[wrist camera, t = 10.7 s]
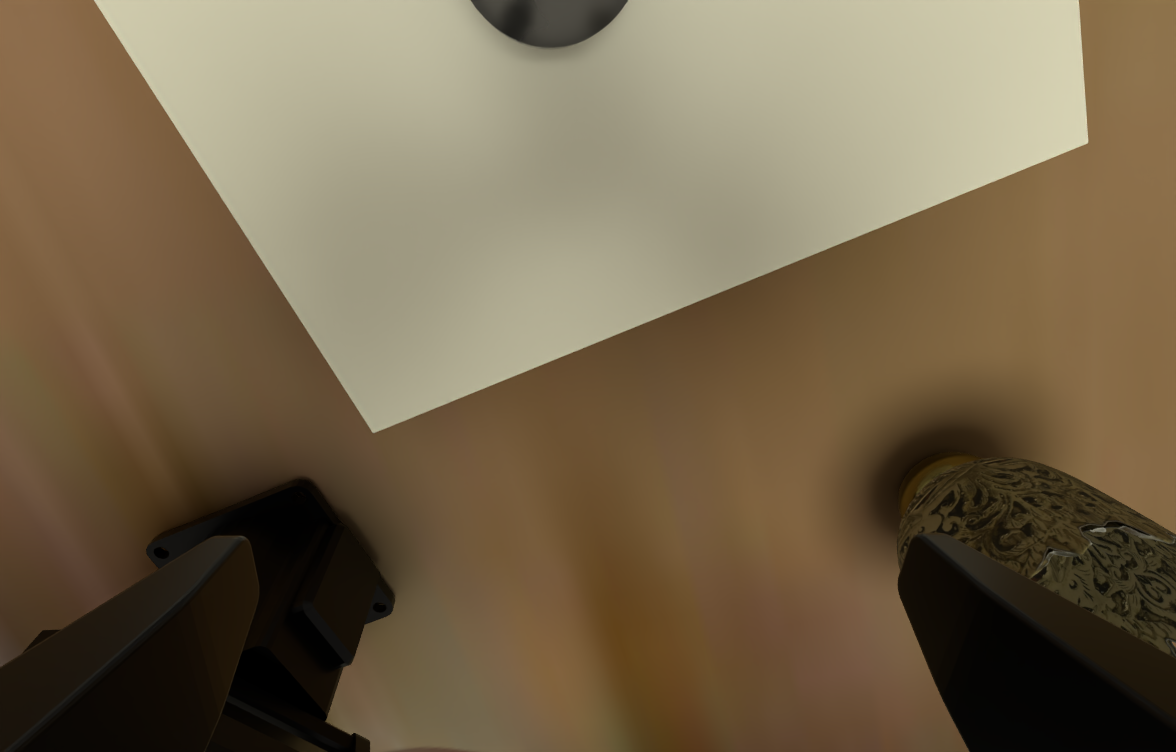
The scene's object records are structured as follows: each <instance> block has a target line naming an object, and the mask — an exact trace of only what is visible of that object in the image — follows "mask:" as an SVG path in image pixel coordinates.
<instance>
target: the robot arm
mask: <svg viewBox="0 0 1176 752" xmlns="http://www.w3.org/2000/svg"><path fill="white" fill-rule="evenodd" d="M295 492H300V493H303V494H304V495H305V496H306V497H303V498H302V497H299V496H297V495H296V493H295ZM161 547H162V548H165V549H166V550H168V551H165V550H163V549H162V548H161ZM146 552H147V555H148V557H149V558H150V559H151V560H152V561H153V562H154V564H155V565H156V566H157V567H158V568H159V569H158V570H157V571H155V572H154V573H152V574H150V575H149V576H147V577H145V578H144V579H142V580H141V581H139V582H137V583H136V584H134V585H132V586H131V587H129V588H128V589H126V590H124V591H123V592H121V593H120V594H118V595H116V596H115V597H113V598H111V599H110V600H108V601H107V602H105V603H103V604H102V605H100V606H99V607H97V608H95V609H94V610H92V611H90V612H89V613H87V614H86V615H84V616H82V617H81V618H79V619H78V620H76V621H74V622H73V623H71V624H69V625H68V626H66V627H65V628H63V629H61V630H43V631H42V632H41V633H40V634H39V635H38V636H37V637H36V638H35V640H34V641H33V642H32V643H31V644H30V645H29V646H28V648H27V649H26V650H25V651H24V652H23V653H22V654H21V655H19V656H18V657H16V658H14V659H13V660H11V661H10V662H8V663H6V664H5V665H3V666H2V667H0V752H370V741H369V740H368V739H366V738H364V737H362V736H360V735H358V734H356V733H354V734H352V735H350V734H348V733H346V732H344V731H342V730H340V729H339V728H337V727H335V726H333V725H331V724H329V723H327V722H325V721H326V719H327V716H328V713H329V710H330V707H331V704H332V701H333V698H334V694H335V691H336V688H337V685H338V682H339V679H340V676H341V673H342V670H343V667H345V666H348V665H351V663H352V662H353V659H354V656H355V654H356V650H357V647H358V644H359V641H360V638H361V634H362V631H363V628H364V625H365V624H368V623H370V622H373V621H376V620H378V619H381V618H384V617H386V616H388V615H390V614H391V612H392V611H393V608H394V604H395V598H394V595H393V594H392V593H391V591H390V590H389V589H388V587H387V586H386V584H385V583H384V582H383V580H382V579H381V577H380V572H379V571H378V569H377V568H376V566H375V565H374V564H373V562H372V561H371V559H370V558H369V557H368V555H367V554H366V553H365V551H364V550H363V548H362V547H361V546H360V544H359V543H358V541H357V540H356V539H355V537H354V536H353V534H352V533H351V532H350V530H349V529H348V527H347V526H345V525H343V524H342V523H341V522H340V521H339V519H338V518H337V516H336V515H335V514H334V512H333V511H332V509H331V508H330V507H329V505H328V504H327V503H326V501H325V500H324V498H323V497H322V496H321V494H320V493H319V491H318V490H317V489H316V487H315V486H314V485H313V484H312V483H311V482H309V481H306V480H300V479H299V480H294V481H292V482H289V483H287V484H284V485H282V486H279V487H277V488H275V489H272V490H270V491H267V492H265V493H262V494H260V495H257V496H255V497H252V498H250V499H247V500H245V501H242V502H240V503H237V504H235V505H232V506H230V507H227V508H225V509H222V510H220V511H217V512H215V513H213V514H210V515H208V516H205V517H203V518H200V519H198V520H195V521H193V522H190V523H188V524H185V525H183V526H180V527H178V528H175V529H173V530H170V531H168V532H165V533H163V534H160V535H158V536H157V537H155V538H154V539H153V540H152V541H151V543H150V544H149V545H148V547H147V549H146ZM898 591H899V595H900V598H901V601H902V603H903V606H904V608H905V611H906V613H907V616H908V618H909V620H910V623H911V625H912V628H913V630H914V633H915V635H916V638H917V640H918V643H919V645H920V647H921V650H922V652H923V655H924V657H925V660H926V662H927V665H928V667H929V669H930V672H931V674H932V677H933V679H934V682H935V684H936V686H937V688H938V691H939V693H940V695H941V697H942V700H943V702H944V704H945V706H946V708H947V710H948V712H949V714H950V716H951V718H952V719H953V721H954V723H955V725H956V727H957V729H958V731H959V733H960V735H961V737H962V739H963V740H964V742H965V744H966V746H967V748H968V750H969V752H1176V658H1175V657H1173V656H1171V655H1169V654H1167V653H1165V652H1164V651H1162V650H1160V649H1158V648H1156V647H1154V646H1153V645H1151V644H1149V643H1147V642H1145V641H1143V640H1141V639H1140V638H1138V637H1136V636H1134V635H1132V634H1130V633H1129V632H1127V631H1125V630H1123V629H1121V628H1119V627H1117V626H1116V625H1114V624H1112V623H1110V622H1108V621H1106V620H1105V619H1103V618H1101V617H1099V616H1097V615H1095V614H1093V613H1092V612H1090V611H1088V610H1086V609H1084V608H1082V607H1081V606H1079V605H1077V604H1075V603H1073V602H1071V601H1069V600H1068V599H1066V598H1064V597H1062V596H1060V595H1058V594H1057V593H1055V592H1053V591H1051V590H1049V589H1047V588H1045V587H1044V586H1042V585H1040V584H1038V583H1036V582H1034V581H1033V580H1031V579H1029V578H1027V577H1025V576H1023V575H1021V574H1020V573H1018V572H1016V571H1014V570H1012V569H1010V568H1009V567H1007V566H1005V565H1003V564H1001V563H999V562H997V561H996V560H994V559H992V558H990V557H988V556H986V555H985V554H983V553H981V552H979V551H977V550H975V549H973V548H972V547H970V546H968V545H966V544H964V543H962V542H960V541H959V540H957V539H955V538H953V537H951V536H949V535H947V534H944V533H918V534H916V535H914V536H913V537H912V538H911V540H910V542H909V545H908V548H907V551H906V554H905V558H904V561H903V564H902V567H901V570H900V574H899V577H898ZM378 602H380V603H384V604H385V605H380V604H378Z"/></svg>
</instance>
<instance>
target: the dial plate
mask: <svg viewBox="0 0 1176 752" xmlns="http://www.w3.org/2000/svg"><path fill="white" fill-rule="evenodd" d="M94 1H95V3H96V4H97V6H98V7H99V9H100V10H101V12H102V13H103V15H104V16H105V18H106V20H107V21H108V23H109V24H110V26H111V27H112V29H113V30H114V32H115V34H116V35H117V37H118V38H119V40H120V41H121V43H122V44H123V46H124V48H125V49H126V51H127V52H128V54H129V55H130V57H131V58H132V60H133V61H134V63H135V65H136V66H137V68H138V69H139V71H140V72H141V74H142V75H143V77H144V79H145V80H146V82H147V83H148V85H149V86H150V88H151V89H152V91H153V93H154V94H155V96H156V97H157V99H158V100H159V102H160V103H161V105H162V106H163V108H164V110H165V111H166V113H167V114H168V116H169V117H170V119H171V120H172V122H173V124H174V125H175V127H176V128H177V130H178V131H179V133H180V134H181V136H182V137H183V139H184V141H185V142H186V144H187V145H188V147H189V148H190V150H191V151H192V153H193V155H194V156H195V158H196V159H197V161H198V162H199V164H200V165H201V167H202V169H203V170H204V172H205V173H206V175H207V176H208V178H209V179H210V181H211V182H212V184H213V186H214V187H215V189H216V190H217V192H218V193H219V195H220V196H221V198H222V200H223V201H224V203H225V204H226V206H227V207H228V209H229V210H230V212H231V214H232V215H233V217H234V218H235V220H236V221H237V223H238V224H239V226H240V227H241V229H242V231H243V232H244V234H245V235H246V237H247V238H248V240H249V241H250V243H251V245H252V246H253V248H254V249H255V251H256V252H257V254H258V255H259V257H260V258H261V260H262V262H263V263H264V265H265V266H266V268H267V269H268V271H269V272H270V274H271V276H272V277H273V279H274V280H275V282H276V283H277V285H278V286H279V288H280V290H281V291H282V293H283V294H284V296H285V297H286V299H287V300H288V302H289V303H290V305H291V307H292V308H293V310H294V311H295V313H296V314H297V316H298V317H299V319H300V321H301V322H302V324H303V325H304V327H305V328H306V330H307V331H308V333H309V335H310V336H311V338H312V339H313V341H314V342H315V344H316V345H317V347H318V348H319V350H320V352H321V353H322V355H323V356H324V358H325V359H326V361H327V362H328V364H329V366H330V367H331V369H332V370H333V372H334V373H335V375H336V376H337V378H338V379H339V381H340V383H341V384H342V386H343V387H344V389H345V390H346V392H347V393H348V395H349V397H350V398H351V400H352V401H353V403H354V404H355V406H356V407H357V409H358V411H359V412H360V414H361V415H362V417H363V418H364V420H365V421H366V423H367V424H368V426H369V428H370V429H371V431H372V432H373V433H375V432H378V431H380V430H383V429H385V428H388V427H390V426H393V425H395V424H398V423H400V422H402V421H405V420H407V419H410V418H412V417H415V416H417V415H420V414H422V413H425V412H427V411H430V410H432V409H434V408H437V407H439V406H442V405H444V404H447V403H449V402H452V401H454V400H457V399H459V398H462V397H464V396H466V395H469V394H471V393H474V392H476V391H479V390H481V389H484V388H486V387H489V386H491V385H494V384H496V383H498V382H501V381H503V380H506V379H508V378H511V377H513V376H516V375H518V374H521V373H523V372H526V371H528V370H531V369H533V368H535V367H538V366H540V365H543V364H545V363H548V362H550V361H553V360H555V359H558V358H560V357H563V356H565V355H567V354H570V353H572V352H575V351H577V350H580V349H582V348H585V347H587V346H590V345H592V344H595V343H597V342H599V341H602V340H604V339H607V338H609V337H612V336H614V335H617V334H619V333H622V332H624V331H627V330H629V329H631V328H634V327H636V326H639V325H641V324H644V323H646V322H649V321H651V320H654V319H656V318H659V317H661V316H663V315H666V314H668V313H671V312H673V311H676V310H678V309H681V308H683V307H686V306H688V305H691V304H693V303H696V302H698V301H700V300H703V299H705V298H708V297H710V296H713V295H715V294H718V293H720V292H723V291H725V290H728V289H730V288H732V287H735V286H737V285H740V284H742V283H745V282H747V281H750V280H752V279H755V278H757V277H760V276H762V275H764V274H767V273H769V272H772V271H774V270H777V269H779V268H782V267H784V266H787V265H789V264H792V263H794V262H796V261H799V260H801V259H804V258H806V257H809V256H811V255H814V254H816V253H819V252H821V251H824V250H826V249H828V248H831V247H833V246H836V245H838V244H841V243H843V242H846V241H848V240H851V239H853V238H856V237H858V236H861V235H863V234H865V233H868V232H870V231H873V230H875V229H878V228H880V227H883V226H885V225H888V224H890V223H893V222H895V221H897V220H900V219H902V218H905V217H907V216H910V215H912V214H915V213H917V212H920V211H922V210H925V209H927V208H929V207H932V206H934V205H937V204H939V203H942V202H944V201H947V200H949V199H952V198H954V197H957V196H959V195H961V194H964V193H966V192H969V191H971V190H974V189H976V188H979V187H981V186H984V185H986V184H989V183H991V182H994V181H996V180H998V179H1001V178H1003V177H1006V176H1008V175H1011V174H1013V173H1016V172H1018V171H1021V170H1023V169H1026V168H1028V167H1030V166H1033V165H1035V164H1038V163H1040V162H1043V161H1045V160H1048V159H1050V158H1053V157H1055V156H1058V155H1060V154H1062V153H1065V152H1067V151H1070V150H1072V149H1075V148H1077V147H1080V146H1082V145H1085V144H1087V143H1088V133H1087V118H1086V103H1085V88H1084V73H1083V58H1082V43H1081V28H1080V13H1079V0H628V1H627V3H626V4H625V6H624V7H623V9H622V10H621V11H620V13H619V14H618V15H617V16H616V17H615V18H614V19H613V20H612V21H611V23H609V24H608V25H607V26H606V27H605V28H603V29H602V30H601V31H599V32H598V33H596V34H595V35H593V36H592V37H590V38H588V39H587V40H585V41H583V42H581V43H579V44H576V45H574V46H570V47H566V48H561V49H538V48H533V47H529V46H526V45H523V44H520V43H518V42H516V41H514V40H511V39H509V38H508V37H506V36H505V35H503V34H502V33H500V32H499V31H498V30H497V29H496V28H494V27H493V26H492V25H491V24H490V23H489V22H488V21H487V20H486V19H485V18H484V17H483V16H482V14H481V13H480V12H479V11H478V10H477V9H476V8H475V6H474V5H473V3H472V2H471V0H94Z"/></svg>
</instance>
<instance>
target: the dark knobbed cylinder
mask: <svg viewBox="0 0 1176 752" xmlns="http://www.w3.org/2000/svg"><path fill="white" fill-rule="evenodd" d="M627 1H628V0H471V2H472V3H473V5H474V6H475V8H476V9H477V10H478V11H479V12H480V13H481V14H482V16H483V17H484V18H485V19H486V20H487V21H488V22H489V23H490V24H491V25H492V26H493V27H494V28H496V29H497V30H498V31H499V32H500V33H502V34H503V35H505V36H506V37H508V38H509V39H511V40H514V41H516V42H518V43H520V44H523V45H526V46H529V47H533V48H538V49H561V48H566V47H570V46H574V45H576V44H579V43H581V42H583V41H585V40H587V39H588V38H590V37H592V36H593V35H595V34H596V33H598V32H599V31H601V30H602V29H603V28H605V27H606V26H607V25H608V24H609V23H611V21H612V20H613V19H614V18H615V17H616V16H617V15H618V14H619V13H620V11H621V10H622V9H623V7H624V6H625V4H626V3H627Z"/></svg>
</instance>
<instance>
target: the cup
mask: <svg viewBox="0 0 1176 752" xmlns="http://www.w3.org/2000/svg"><path fill="white" fill-rule="evenodd" d="M898 506H899V512H900V516H901V518H902V521H901V524H900V527H899V533H898V539H897V554H898V563H899V568H900V570H901V567H902V564H903V561H904V558H905V554H906V551H907V548H908V545H909V542H910V540H911V538H912V537H913V536H914V535H916V534H918V533H944V534H947V535H949V536H951V537H953V538H955V539H957V540H959V541H960V542H962V543H964V544H966V545H968V546H970V547H972V548H973V549H975V550H977V551H979V552H981V553H983V554H985V555H986V556H988V557H990V558H992V559H994V560H996V561H997V562H999V563H1001V564H1003V565H1005V566H1007V567H1009V568H1010V569H1012V570H1014V571H1016V572H1018V573H1020V574H1021V575H1023V576H1025V577H1027V578H1029V579H1031V580H1033V581H1034V582H1036V583H1038V584H1040V585H1042V586H1044V587H1045V588H1047V589H1049V590H1051V591H1053V592H1055V593H1057V594H1058V595H1060V596H1062V597H1064V598H1066V599H1068V600H1069V601H1071V602H1073V603H1075V604H1077V605H1079V606H1081V607H1082V608H1084V609H1086V610H1088V611H1090V612H1092V613H1093V614H1095V615H1097V616H1099V617H1101V618H1103V619H1105V620H1106V621H1108V622H1110V623H1112V624H1114V625H1116V626H1117V627H1119V628H1121V629H1123V630H1125V631H1127V632H1129V633H1130V634H1132V635H1134V636H1136V637H1138V638H1140V639H1141V640H1143V641H1145V642H1147V643H1149V644H1151V645H1153V646H1154V647H1156V648H1158V649H1160V650H1162V651H1164V652H1165V653H1167V654H1169V655H1171V656H1173V657H1175V658H1176V648H1175V646H1174V645H1173V644H1172V641H1173V642H1175V643H1176V534H1174V533H1172V532H1171V531H1169V530H1167V529H1165V528H1164V527H1162V526H1160V525H1159V524H1157V523H1155V522H1154V521H1152V520H1150V519H1148V518H1147V517H1145V516H1143V515H1142V514H1140V513H1138V512H1136V511H1135V510H1133V509H1131V508H1129V507H1128V506H1126V505H1124V504H1122V503H1121V502H1119V501H1117V500H1115V499H1113V498H1112V497H1110V496H1108V495H1106V494H1105V493H1103V492H1101V491H1099V490H1097V489H1096V488H1094V487H1092V486H1090V485H1088V484H1086V483H1084V482H1083V481H1081V480H1079V479H1077V478H1075V477H1073V476H1071V475H1068V474H1066V473H1064V472H1062V471H1060V470H1057V469H1054V468H1052V467H1049V466H1046V465H1044V464H1041V463H1037V462H1033V461H1029V460H1024V459H1018V458H985V459H982V458H980V457H977V456H975V455H971V454H967V453H962V452H944V453H939V454H935V455H933V456H930V457H928V458H926V459H924V460H923V461H921V462H919V463H918V464H917V465H916V466H914V467H913V468H912V469H911V470H910V471H909V472H908V474H907V475H906V476H905V478H904V479H903V481H902V483H901V486H900V489H899V493H898Z"/></svg>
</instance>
